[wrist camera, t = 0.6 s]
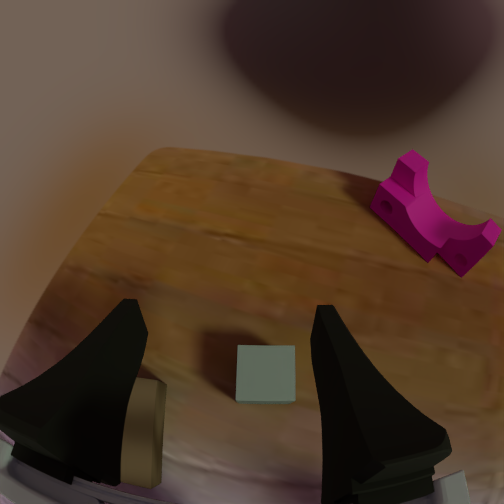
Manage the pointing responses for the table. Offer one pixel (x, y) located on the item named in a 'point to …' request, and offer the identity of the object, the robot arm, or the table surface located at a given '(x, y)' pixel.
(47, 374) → the robot arm
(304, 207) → the table surface
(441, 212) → the toy block
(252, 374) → the gray cube
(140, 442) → the base block
